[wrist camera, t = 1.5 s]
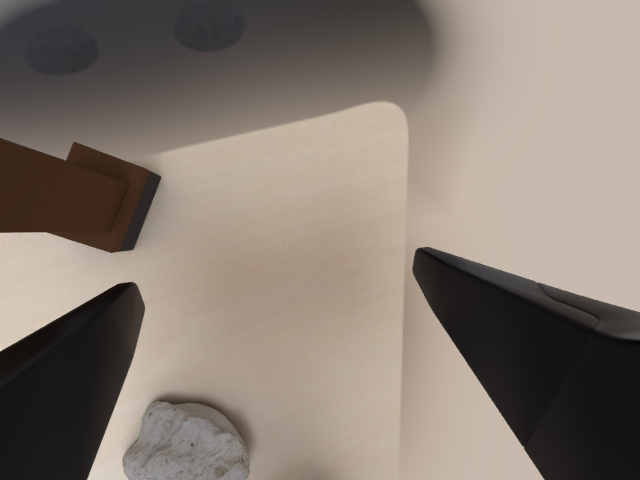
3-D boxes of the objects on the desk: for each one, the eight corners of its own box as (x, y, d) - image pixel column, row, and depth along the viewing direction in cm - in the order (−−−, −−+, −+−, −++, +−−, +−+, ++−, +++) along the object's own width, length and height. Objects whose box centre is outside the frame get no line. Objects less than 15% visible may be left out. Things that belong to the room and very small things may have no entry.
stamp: (133, 249, 21) (-71, 279, 9) (71, 229, 21) (-256, 228, 8) (161, 176, 22) (4, 98, 9) (101, 154, 21) (-170, 31, 8)
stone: (90, 422, 19) (234, 422, 18) (139, 385, 24) (255, 384, 23) (98, 565, 19) (241, 570, 19) (145, 500, 24) (260, 502, 23)
